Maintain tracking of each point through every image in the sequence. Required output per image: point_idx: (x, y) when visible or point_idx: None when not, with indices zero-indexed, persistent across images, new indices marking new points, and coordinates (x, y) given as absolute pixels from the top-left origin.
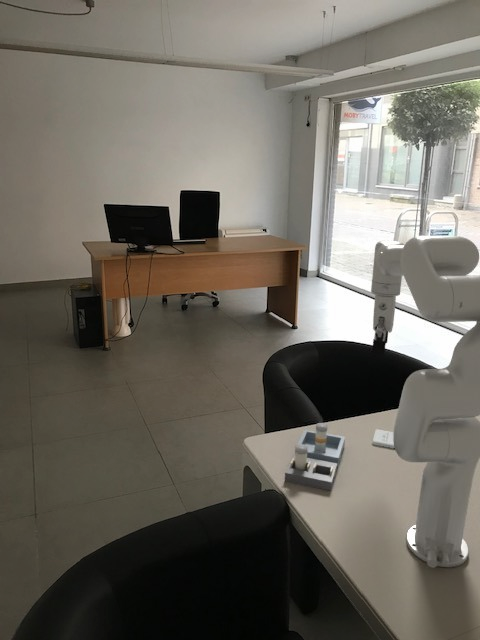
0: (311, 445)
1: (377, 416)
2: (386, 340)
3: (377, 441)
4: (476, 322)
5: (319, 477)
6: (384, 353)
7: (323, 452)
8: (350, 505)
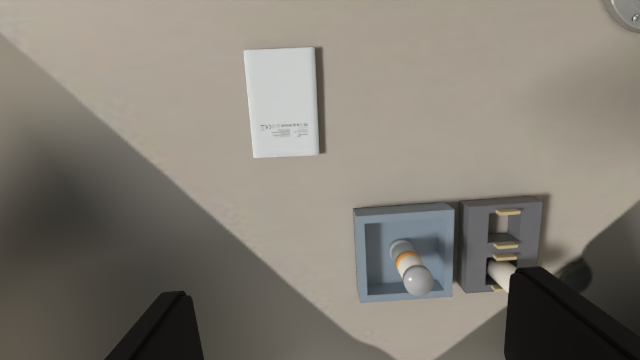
0: (386, 269)
1: (173, 165)
2: (177, 314)
3: (315, 144)
4: None
5: (532, 227)
6: (542, 270)
7: (408, 241)
8: (565, 152)
